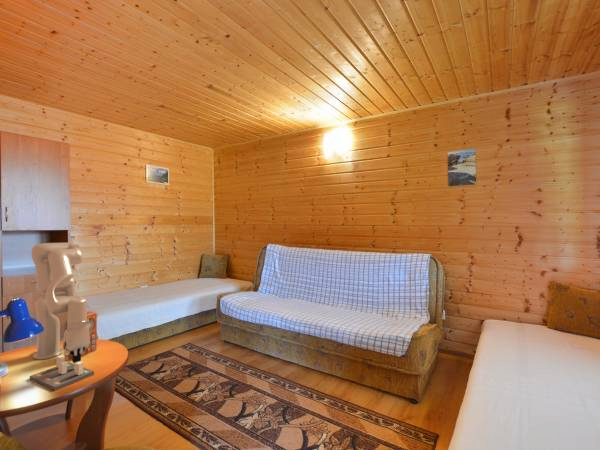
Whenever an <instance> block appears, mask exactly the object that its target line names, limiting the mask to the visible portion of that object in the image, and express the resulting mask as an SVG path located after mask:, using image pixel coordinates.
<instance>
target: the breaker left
mask: <svg viewBox="0 0 600 450" xmlns="http://www.w3.org/2000/svg"><path fill="white" fill-rule="evenodd" d="M60 361H66V356H65V355H64V354H60V355H58V356H56V366H57V367H58V362H60Z"/></svg>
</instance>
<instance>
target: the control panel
mask: <svg viewBox="0 0 600 450" xmlns="http://www.w3.org/2000/svg"><path fill="white" fill-rule="evenodd" d="M88 319H89V322H87V325H88V328H89V334H90V343H89V347H87V348H86V349H84V351H83V353H82V354H81V358H83V357H85V356H87V355H89V354H91V353H93V352H95V351H97V349H98V348H97V347H98V343H97V342H98V312H97V311H92V310H90V311H87V320H88ZM76 350H77V349H76ZM68 359H70V360H72V355H71V354H68Z"/></svg>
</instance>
